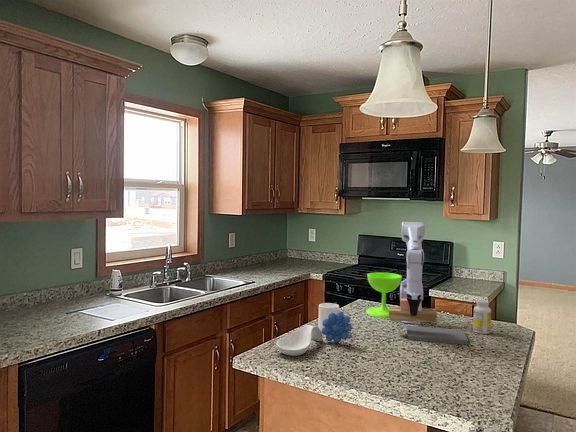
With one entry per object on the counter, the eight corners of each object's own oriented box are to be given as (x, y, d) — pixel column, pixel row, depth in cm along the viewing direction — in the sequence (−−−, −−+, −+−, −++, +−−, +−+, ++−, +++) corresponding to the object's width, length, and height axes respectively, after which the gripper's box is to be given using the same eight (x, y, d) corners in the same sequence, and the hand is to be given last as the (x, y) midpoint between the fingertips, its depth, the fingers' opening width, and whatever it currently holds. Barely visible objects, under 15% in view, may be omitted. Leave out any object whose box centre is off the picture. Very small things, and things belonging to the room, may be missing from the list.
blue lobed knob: (354, 341, 172) (355, 310, 171) (350, 347, 165) (351, 314, 165) (324, 337, 176) (325, 306, 175) (319, 342, 169) (320, 310, 169)
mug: (323, 324, 194) (324, 300, 194) (342, 326, 192) (343, 302, 191) (315, 331, 183) (316, 306, 183) (335, 334, 180) (336, 308, 180)
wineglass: (394, 319, 204) (395, 279, 203) (360, 314, 212) (361, 275, 211) (405, 312, 217) (406, 274, 217) (373, 307, 226) (374, 271, 225)
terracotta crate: (400, 308, 184) (400, 298, 184) (410, 308, 184) (410, 298, 183) (400, 310, 181) (400, 300, 180) (411, 310, 180) (410, 300, 180)
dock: (406, 329, 189) (406, 325, 189) (462, 333, 184) (462, 330, 184) (407, 339, 176) (407, 335, 175) (468, 344, 171) (468, 340, 171)
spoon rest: (299, 362, 150) (299, 340, 150) (269, 355, 156) (269, 334, 156) (330, 343, 170) (331, 324, 170) (303, 337, 176) (303, 319, 176)
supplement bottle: (487, 330, 190) (488, 299, 190) (492, 334, 184) (494, 303, 183) (470, 329, 191) (471, 298, 190) (475, 334, 184) (476, 302, 184)
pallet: (389, 317, 186) (389, 307, 186) (435, 318, 182) (435, 308, 182) (389, 320, 181) (388, 310, 181) (436, 322, 177) (436, 311, 177)
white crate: (410, 308, 184) (410, 298, 183) (421, 308, 183) (420, 298, 183) (411, 310, 180) (410, 300, 180) (421, 311, 179) (421, 300, 179)
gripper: (403, 276, 189) (402, 308, 189) (404, 282, 175) (403, 317, 175) (421, 277, 187) (420, 310, 188) (423, 283, 173) (422, 319, 174)
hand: (413, 313), depth 182 cm, fingers closed on pallet, 5 cm apart
